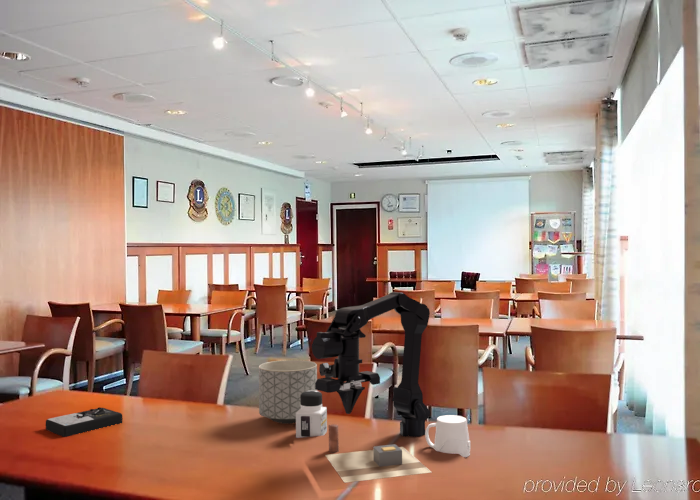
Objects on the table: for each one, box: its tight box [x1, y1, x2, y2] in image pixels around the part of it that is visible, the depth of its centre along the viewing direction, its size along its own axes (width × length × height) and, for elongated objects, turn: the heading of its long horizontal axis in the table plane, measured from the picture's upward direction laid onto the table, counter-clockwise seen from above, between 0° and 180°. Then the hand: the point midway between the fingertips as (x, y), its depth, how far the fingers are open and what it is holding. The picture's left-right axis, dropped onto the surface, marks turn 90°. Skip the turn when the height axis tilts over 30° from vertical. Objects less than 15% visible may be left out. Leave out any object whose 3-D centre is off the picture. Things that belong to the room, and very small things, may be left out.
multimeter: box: [45, 407, 123, 438], centre depth 192 cm, size 13×19×5 cm
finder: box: [372, 443, 402, 467], centre depth 152 cm, size 6×5×4 cm
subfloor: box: [324, 446, 432, 484], centre depth 151 cm, size 22×20×1 cm
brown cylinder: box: [328, 423, 340, 454], centre depth 161 cm, size 3×3×8 cm
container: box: [295, 390, 328, 439], centre depth 180 cm, size 8×8×13 cm
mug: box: [424, 414, 471, 458], centre depth 162 cm, size 12×9×8 cm
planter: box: [258, 359, 318, 425], centre depth 196 cm, size 19×19×18 cm
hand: (348, 413), depth 160 cm, fingers closed
